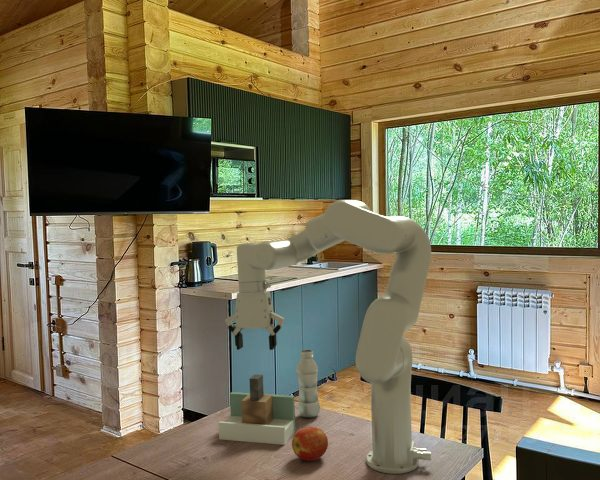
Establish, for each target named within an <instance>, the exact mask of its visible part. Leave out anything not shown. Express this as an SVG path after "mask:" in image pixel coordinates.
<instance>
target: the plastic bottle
mask: <svg viewBox="0 0 600 480" xmlns="http://www.w3.org/2000/svg"><path fill="white" fill-rule="evenodd" d="M300 358H301V359H300V360H299V362H298V363H297V365H296V375H297V380H298V389H299V390H298V403H297V404H298V405H297V410H298V414H299V415H300V416H301V417H302V418H315V417H318V416H319V414H320V410H321V407H320V406H321V405H320V401H319V394H318V386H317V385H318V372H319V367H318V363H316V361H315V360H314V359H313V358H314V351H313V350H312V349H302V350H300Z"/></svg>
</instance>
